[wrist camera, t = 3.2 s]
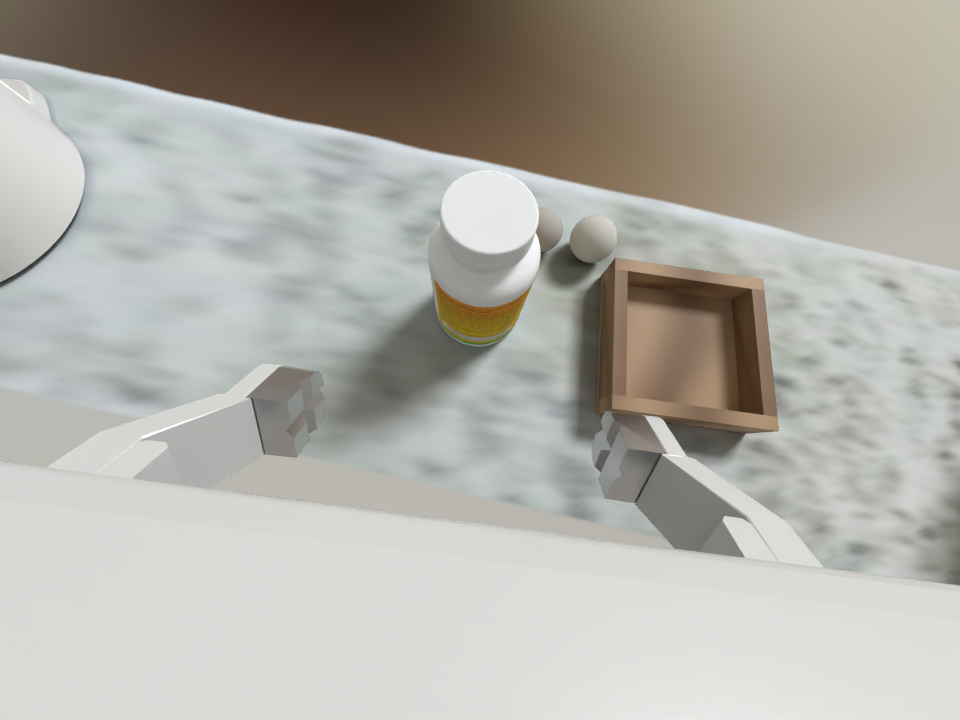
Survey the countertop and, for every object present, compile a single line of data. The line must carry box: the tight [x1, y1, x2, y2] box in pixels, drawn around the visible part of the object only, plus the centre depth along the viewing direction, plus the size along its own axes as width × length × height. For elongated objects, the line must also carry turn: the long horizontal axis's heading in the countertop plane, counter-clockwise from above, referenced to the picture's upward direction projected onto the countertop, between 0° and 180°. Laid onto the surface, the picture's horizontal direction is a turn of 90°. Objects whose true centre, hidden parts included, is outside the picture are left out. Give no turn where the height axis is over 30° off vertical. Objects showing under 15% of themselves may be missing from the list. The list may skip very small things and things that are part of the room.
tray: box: [596, 258, 779, 434], centre depth 22 cm, size 10×10×2 cm
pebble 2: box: [570, 215, 617, 263], centre depth 23 cm, size 3×3×3 cm
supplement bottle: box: [428, 170, 541, 346], centre depth 18 cm, size 5×5×10 cm
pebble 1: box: [536, 207, 563, 252], centre depth 23 cm, size 3×3×3 cm
